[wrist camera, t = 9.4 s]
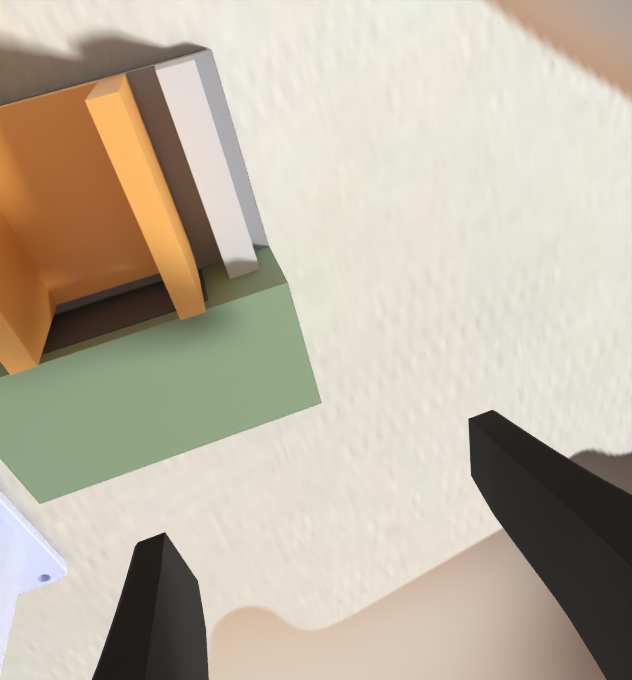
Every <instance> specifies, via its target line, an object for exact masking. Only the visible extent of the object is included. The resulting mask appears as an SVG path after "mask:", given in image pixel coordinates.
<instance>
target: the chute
mask: <svg viewBox="0 0 632 680" xmlns="http://www.w3.org/2000/svg"><path fill="white" fill-rule="evenodd" d="M158 273H160V274H161V277H162V279H163V281H164V283H165V286H166V288H167V290H168V293H169V295H170V297H171V299H172V302H173V304H174V306H175V309H176V311H177V313H178V316H179V318H180V320H183V319H187V318H190V317H193V316H196V315H199V314H202V313H205V312H206V310H205V305H204V299H203V294H202V289H201V284H200V279H199V274H198V268H197V263H196V258H195V254H194V251H193V248H192V246H191V243H190V241H189V238H188V235H187V233H186V230H185V227H184V225H183V222H182V220H181V217H180V214H179V212H178V209H177V206H176V204H175V201H174V199H173V196H172V193H171V191H170V188H169V185H168V183H167V180H166V178H165V175H164V172H163V170H162V167H161V164H160V162H159V159H158V157H157V154H156V151H155V149H154V146H153V143H152V141H151V138H150V136H149V133H148V130H147V128H146V125H145V123H144V120H143V117H142V115H141V112H140V109H139V107H138V104H137V102H136V99H135V96H134V94H133V91H132V88H131V86H130V83H129V81H128V78H127V75H126V73H123V74H119V75H115V76H111V77H108V78H104V79H100V80H96V81H93V82H89V83H85V84H81V85H77V86H74V87H70V88H66V89H62V90H59V91H55V92H51V93H47V94H43V95H40V96H36V97H32V98H28V99H25V100H21V101H17V102H13V103H9V104H6V105H2V106H0V362H1V363H2V364H3V366H4V367H5V368H6V370H7V371H8V372H9V374H10V375H13V374H16V373H19V372H22V371H25V370H28V369H31V368H34V367H38V364H39V361H40V358H41V355H42V351H43V348H44V345H45V342H46V338H47V335H48V332H49V329H50V326H51V322H52V319H53V316H54V313H55V309H56V306H57V305H58V304H61V303H65V302H68V301H71V300H74V299H78V298H81V297H84V296H87V295H90V294H94V293H97V292H100V291H103V290H107V289H110V288H113V287H116V286H119V285H123V284H126V283H129V282H132V281H136V280H139V279H142V278H145V277H148V276H152V275H155V274H158Z"/></svg>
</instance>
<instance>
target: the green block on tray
mask: <svg viewBox="0 0 632 680" xmlns="http://www.w3.org/2000/svg"><path fill="white" fill-rule="evenodd" d="M123 73H126V75H127V78H128V81H129V83H130V86H131V88H132V91H133V94H134V96H135V99H136V102H137V104H138V107H139V109H140V112H141V115H142V117H143V120H144V123H145V125H146V128H147V130H148V133H149V136H150V138H151V141H152V143H153V146H154V149H155V151H156V154H157V157H158V159H159V162H160V164H161V167H162V170H163V172H164V175H165V178H166V180H167V183H168V185H169V188H170V191H171V193H172V196H173V199H174V201H175V204H176V206H177V209H178V212H179V214H180V217H181V220H182V222H183V225H184V227H185V230H186V233H187V235H188V238H189V241H190V243H191V246H192V248H193V251H194V254H195V258H196V263H197V268H198V274H199V279H200V284H201V289H202V294H203V299H204V305H205V310H206V312H205V313H202V314H199V315H196V316H193V317H190V318H187V319H183V320H180V318H179V316H178V313H177V311H176V309H175V306H174V304H173V302H172V299H171V297H170V295H169V293H168V290H167V288H166V286H165V283H164V281H163V279H162V277H161V274H160V273H158V274H155V275H152V276H148V277H145V278H142V279H139V280H136V281H132V282H129V283H126V284H123V285H119V286H116V287H113V288H110V289H107V290H103V291H100V292H97V293H94V294H90V295H87V296H84V297H81V298H78V299H74V300H71V301H68V302H65V303H61V304H58V305H57V306H56V309H55V313H54V316H53V319H52V322H51V326H50V329H49V332H48V335H47V338H46V342H45V345H44V348H43V351H42V355H41V358H40V361H39V364H38V367H34V368H31V369H28V370H25V371H22V372H19V373H16V374H13V375H10V374H9V372H8V371H7V370H6V368H5V367H4V366H3V364H2V363H1V362H0V459H1V460H2V461H3V462H4V464H5V465H6V466H7V467H8V468H9V469H10V470H11V472H12V473H13V474H14V475H15V476H16V477H17V478H18V480H19V481H20V482H21V483H22V484H23V485H24V486H25V488H26V489H27V490H28V491H29V492H30V493H31V494H32V496H33V497H34V498H35V499H36V500H37V501H38V502H39V504H42V503H44V502H47V501H50V500H53V499H56V498H58V497H61V496H64V495H67V494H70V493H72V492H75V491H78V490H81V489H83V488H86V487H89V486H92V485H95V484H97V483H100V482H103V481H106V480H109V479H111V478H114V477H117V476H120V475H123V474H125V473H128V472H131V471H134V470H137V469H139V468H142V467H145V466H148V465H150V464H153V463H156V462H159V461H162V460H164V459H167V458H170V457H173V456H176V455H178V454H181V453H184V452H187V451H190V450H192V449H195V448H198V447H201V446H203V445H206V444H209V443H212V442H215V441H217V440H220V439H223V438H226V437H229V436H231V435H234V434H237V433H240V432H243V431H245V430H248V429H251V428H254V427H256V426H259V425H262V424H265V423H268V422H270V421H273V420H276V419H279V418H282V417H284V416H287V415H290V414H293V413H296V412H298V411H301V410H304V409H307V408H309V407H312V406H315V405H318V404H321V403H322V402H321V399H320V395H319V392H318V388H317V385H316V381H315V378H314V374H313V370H312V367H311V363H310V360H309V356H308V353H307V349H306V346H305V342H304V338H303V335H302V331H301V328H300V324H299V321H298V317H297V314H296V310H295V306H294V303H293V299H292V296H291V292H290V289H289V285H288V282H287V280H286V278H285V276H284V274H283V272H282V270H281V268H280V267H279V265H278V263H277V261H276V259H275V257H274V255H273V253H272V251H271V249H270V247H269V245H268V241H267V238H266V235H265V231H264V228H263V224H262V221H261V217H260V214H259V211H258V207H257V204H256V200H255V197H254V194H253V190H252V187H251V183H250V180H249V176H248V173H247V170H246V166H245V163H244V159H243V156H242V152H241V149H240V146H239V142H238V139H237V135H236V132H235V129H234V125H233V122H232V118H231V115H230V111H229V108H228V105H227V101H226V98H225V94H224V91H223V87H222V84H221V81H220V77H219V74H218V70H217V67H216V64H215V60H214V57H213V53H212V50H211V49H206V50H202V51H199V52H195V53H191V54H188V55H184V56H180V57H177V58H173V59H169V60H166V61H162V62H159V63H155V64H151V65H148V66H144V67H140V68H137V69H133V70H129V71H126V72H122V73H119V74H123ZM119 74H115V75H119ZM115 75H111V76H115ZM111 76H108V77H111ZM108 77H104V78H108ZM104 78H100V79H104ZM100 79H97V80H100ZM93 81H96V80H93ZM93 81H89V82H93ZM89 82H86V83H89ZM82 84H85V83H82ZM78 85H81V84H78ZM75 86H77V85H75ZM71 87H74V86H71ZM68 88H70V87H68ZM64 89H66V88H64ZM60 90H62V89H60ZM57 91H59V90H57ZM53 92H55V91H53ZM49 93H51V92H49ZM46 94H47V93H46ZM42 95H43V94H42ZM38 96H40V95H38ZM35 97H36V96H35ZM31 98H32V97H31ZM24 100H25V99H24ZM20 101H21V100H20Z"/></svg>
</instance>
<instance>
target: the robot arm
mask: <svg viewBox="0 0 632 680" xmlns="http://www.w3.org/2000/svg"><path fill="white" fill-rule="evenodd" d="M469 440H470V462H471V476H472V478H473V480H474V481H475V483H476V485H477V487H478V488H479V490H480V492H481V494H482V495H483V497H484V499H485V501H486V502H487V504H488V506H489V507H490V509H491V511H492V512H493V514H494V516H495V517H496V518H497V520H498V521H499V523H500V524H501V525H502V527H503V528H504V529H505V531H506V532H507V533H508V535H509V536H510V538H511V539H512V540H513V542H514V543H515V544H516V546H517V547H518V548H519V550H520V551H521V552H522V554H523V555H524V557H525V558H526V559H527V561H528V562H529V563H530V565H531V566H532V567H533V568H534V570H535V571H536V573H537V574H538V575H539V577H540V578H541V579H542V581H543V582H544V583H545V585H546V586H547V587H548V589H549V590H550V592H551V593H552V594H553V596H554V597H555V598H556V600H557V601H558V603H559V604H560V606H561V607H562V608H563V610H564V611H565V613H566V614H567V616H568V617H569V619H570V620H571V622H572V623H573V625H574V627H575V628H576V630H577V631H578V633H579V635H580V637H581V638H582V640H583V641H584V643H585V645H586V646H587V648H588V649H589V651H590V653H591V654H592V656H593V658H594V659H595V661H596V662H597V664H598V666H599V668H600V669H601V671H602V672H603V674H604V676H605V678H606V679H607V680H632V495H631V494H629V493H627V492H625V491H624V490H622V489H620V488H618V487H616V486H615V485H612V484H611V483H609V482H607V481H605V480H604V479H602V478H600V477H599V476H597V475H595V474H593V473H592V472H590V471H588V470H587V469H585V468H583V467H582V466H580V465H578V464H577V463H575V462H573V461H572V460H570V459H568V458H567V457H565V456H563V455H562V454H560V453H558V452H557V451H555V450H554V449H552V448H550V447H549V446H547V445H546V444H544V443H543V442H541V441H540V440H538V439H537V438H535V437H533V436H532V435H530V434H529V433H527V432H526V431H524V430H523V429H521V428H520V427H518V426H517V425H515V424H514V423H512V422H511V421H509V420H508V419H506V418H505V417H503V416H502V415H500V414H499V413H497V412H496V411H494V410H491V411H488V412H485V413H483V414H480V415H477V416H475V417H472V418H469ZM67 570H68V564H67V563H66V562H65V560H64V559H63V558H62V557H61V556H60V555H59V554H58V553H57V552H56V551H55V550H54V549H53V548H52V546H51V545H50V544H49V543H48V542H47V541H46V540H45V539H44V538H43V537H42V536H41V535H40V534H39V532H38V531H37V530H36V529H35V528H34V527H33V526H32V525H31V524H30V523H29V522H28V521H27V520H26V518H25V517H24V516H23V515H22V514H21V513H20V512H19V511H18V510H17V509H16V508H15V507H14V506H13V504H12V503H11V502H10V501H9V500H8V499H7V498H6V497H5V496H4V495H3V494H2V493H1V492H0V675H1V670H2V666H3V661H4V657H5V652H6V648H7V643H8V639H9V634H10V630H11V625H12V621H13V616H14V612H15V607H16V603H17V598H18V595H19V594H22V593H24V592H27V591H30V590H32V589H35V588H38V587H40V586H43V585H46V584H48V583H51V582H54V581H56V580H59V579H61V578H63V577H65V576H66V574H67ZM92 680H209V677H208V658H207V641H206V627H205V621H204V614H203V608H202V602H201V596H200V590H199V585H198V580H197V579H196V577H195V576H194V575H193V573H192V572H191V570H190V569H189V567H188V566H187V564H186V563H185V561H184V560H183V558H182V557H181V555H180V554H179V552H178V551H177V549H176V548H175V546H174V545H173V543H172V542H171V540H170V539H169V537H168V536H167V534H166V533H165V532H164V533H162V534H159V535H156V536H154V537H151V538H148V539H146V540H143V541H140V542H138V543H137V545H136V546H135V548H134V552H133V556H132V559H131V563H130V566H129V570H128V573H127V577H126V580H125V583H124V587H123V590H122V593H121V597H120V600H119V603H118V606H117V609H116V613H115V616H114V619H113V622H112V625H111V628H110V630H109V633H108V636H107V639H106V642H105V645H104V648H103V651H102V654H101V657H100V660H99V662H98V665H97V668H96V670H95V673H94V676H93V678H92Z"/></svg>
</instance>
